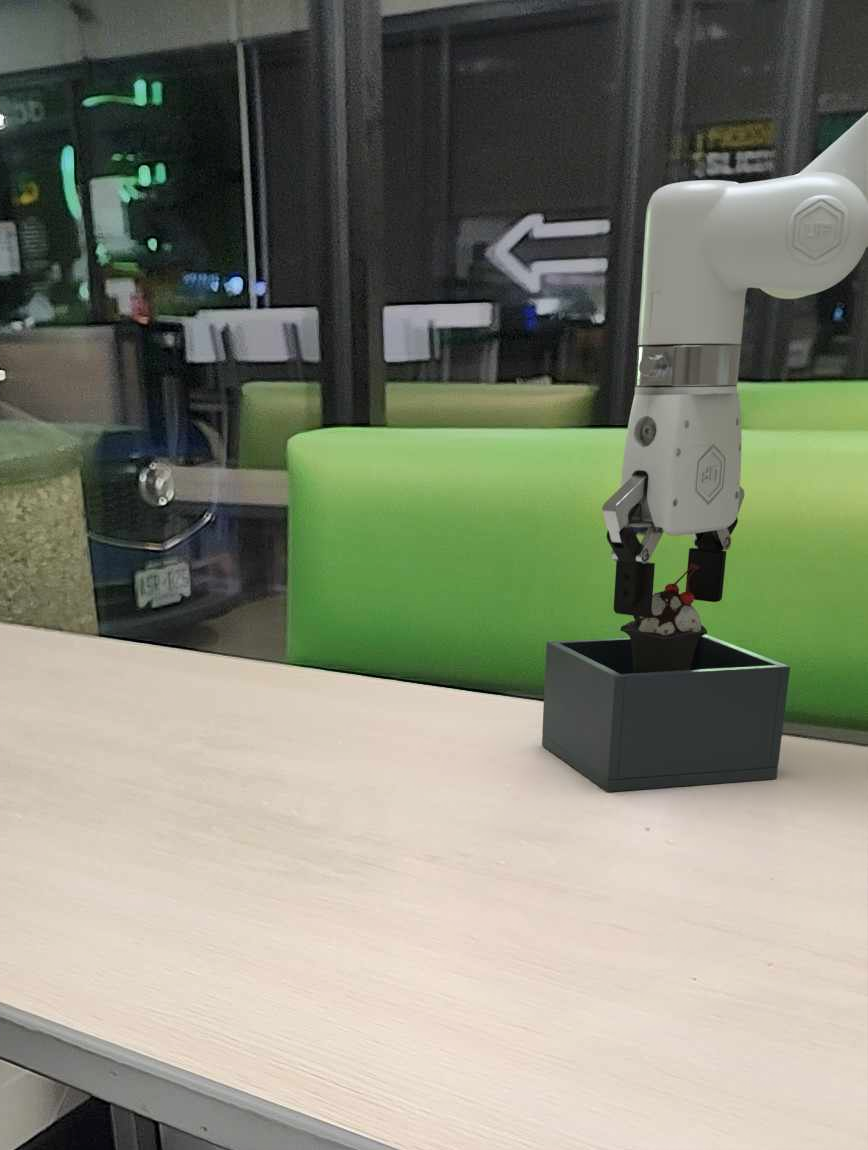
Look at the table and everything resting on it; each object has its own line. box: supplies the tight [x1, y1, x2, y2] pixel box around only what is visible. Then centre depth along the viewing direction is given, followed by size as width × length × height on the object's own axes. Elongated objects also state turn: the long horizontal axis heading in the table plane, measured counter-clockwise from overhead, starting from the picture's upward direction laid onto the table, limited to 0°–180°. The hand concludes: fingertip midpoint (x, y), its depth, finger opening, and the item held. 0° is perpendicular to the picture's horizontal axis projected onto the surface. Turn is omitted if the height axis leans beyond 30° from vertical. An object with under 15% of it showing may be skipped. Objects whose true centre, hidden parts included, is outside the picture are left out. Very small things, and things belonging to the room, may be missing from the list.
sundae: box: [620, 564, 708, 673], centre depth 108 cm, size 7×7×15 cm
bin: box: [541, 634, 791, 793], centre depth 109 cm, size 15×15×9 cm
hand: (668, 607), depth 106 cm, fingers open, 9 cm apart
